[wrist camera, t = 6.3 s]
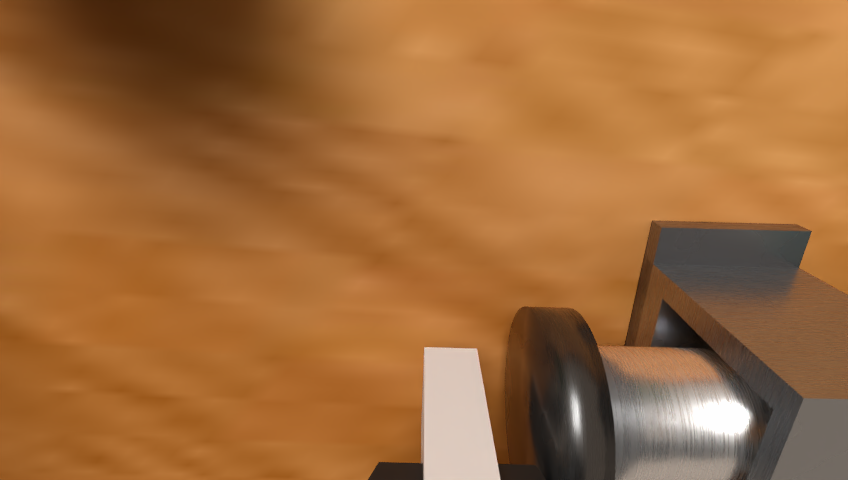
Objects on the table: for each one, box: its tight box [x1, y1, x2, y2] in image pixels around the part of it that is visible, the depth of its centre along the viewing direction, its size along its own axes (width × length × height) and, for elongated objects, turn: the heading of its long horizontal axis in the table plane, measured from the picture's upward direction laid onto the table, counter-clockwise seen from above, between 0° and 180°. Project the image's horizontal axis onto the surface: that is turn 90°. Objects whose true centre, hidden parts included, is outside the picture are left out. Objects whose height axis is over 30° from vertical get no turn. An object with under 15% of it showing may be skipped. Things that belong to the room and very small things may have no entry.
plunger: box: [505, 307, 773, 480], centre depth 12 cm, size 17×6×6 cm, turn 88°
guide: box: [625, 221, 848, 480], centre depth 13 cm, size 4×8×7 cm, turn 178°
